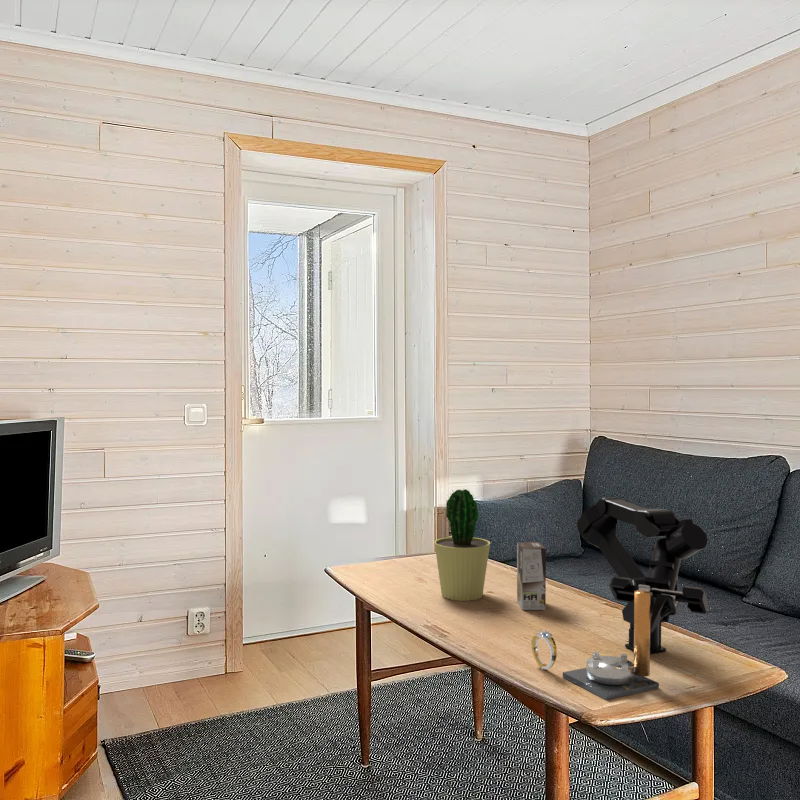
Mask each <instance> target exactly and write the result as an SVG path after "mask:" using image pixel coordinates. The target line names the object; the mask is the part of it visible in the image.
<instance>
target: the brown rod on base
mask: <svg viewBox="0 0 800 800" xmlns="http://www.w3.org/2000/svg"><path fill="white" fill-rule="evenodd" d="M586 668H587V677H588V678H590V679H591V680H593V681H596V682H599V683H603V684H611V685H621V684H627V683H630V682H632V681H633V680H634V674H635V675H637V676H644V677H649V676H650V675H651V654H650V592H649V591H645V590H636V591H634V650H633V661H631V660H629V659H628V654H627V653H626V654H625V653H620V657H619V656H613V655H600V652H599V651H593V652H592V657H590V658H588V659H587V660H586Z"/></svg>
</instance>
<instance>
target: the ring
mask: <svg viewBox="0 0 800 800" xmlns="http://www.w3.org/2000/svg"><path fill="white" fill-rule="evenodd" d="M540 639H541V640H543V641H545V643H546V644H547V646H548V648H549V652H550V653H549V654H550V657H549V659H550V660H549V662H548V664H546V663H544V662H543V661H542V659H541V658H540V655H539V652H538V643H539V640H540ZM530 644H531V645H530V646H531V650H532V655H533V657H534V659H535V661H536V663H537V665H538V666H539V667H540V669H541V670H544V671H545V670H550V669H551V668H553V667H554V665H555V663H556V659H557V655H558V650H557V645H556V641H555V639H554V638H553V634H552V632H550V631H549V630H548V629H545V631H544V630H542V629H539V633H536V634H535V635H533V636H532V638H531V643H530Z"/></svg>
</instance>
